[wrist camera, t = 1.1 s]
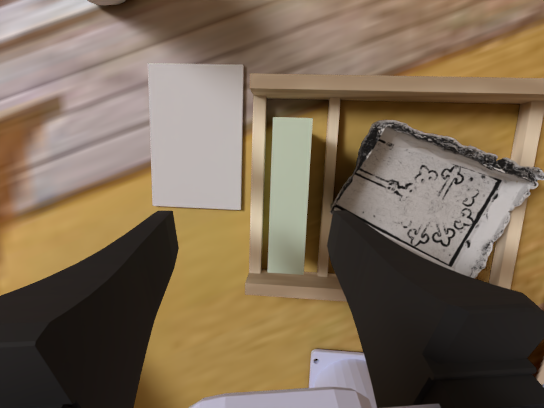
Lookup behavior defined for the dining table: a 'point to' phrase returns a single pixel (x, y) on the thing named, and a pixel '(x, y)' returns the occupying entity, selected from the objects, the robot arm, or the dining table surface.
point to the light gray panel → (196, 134)
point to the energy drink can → (106, 2)
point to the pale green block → (289, 194)
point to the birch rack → (322, 285)
